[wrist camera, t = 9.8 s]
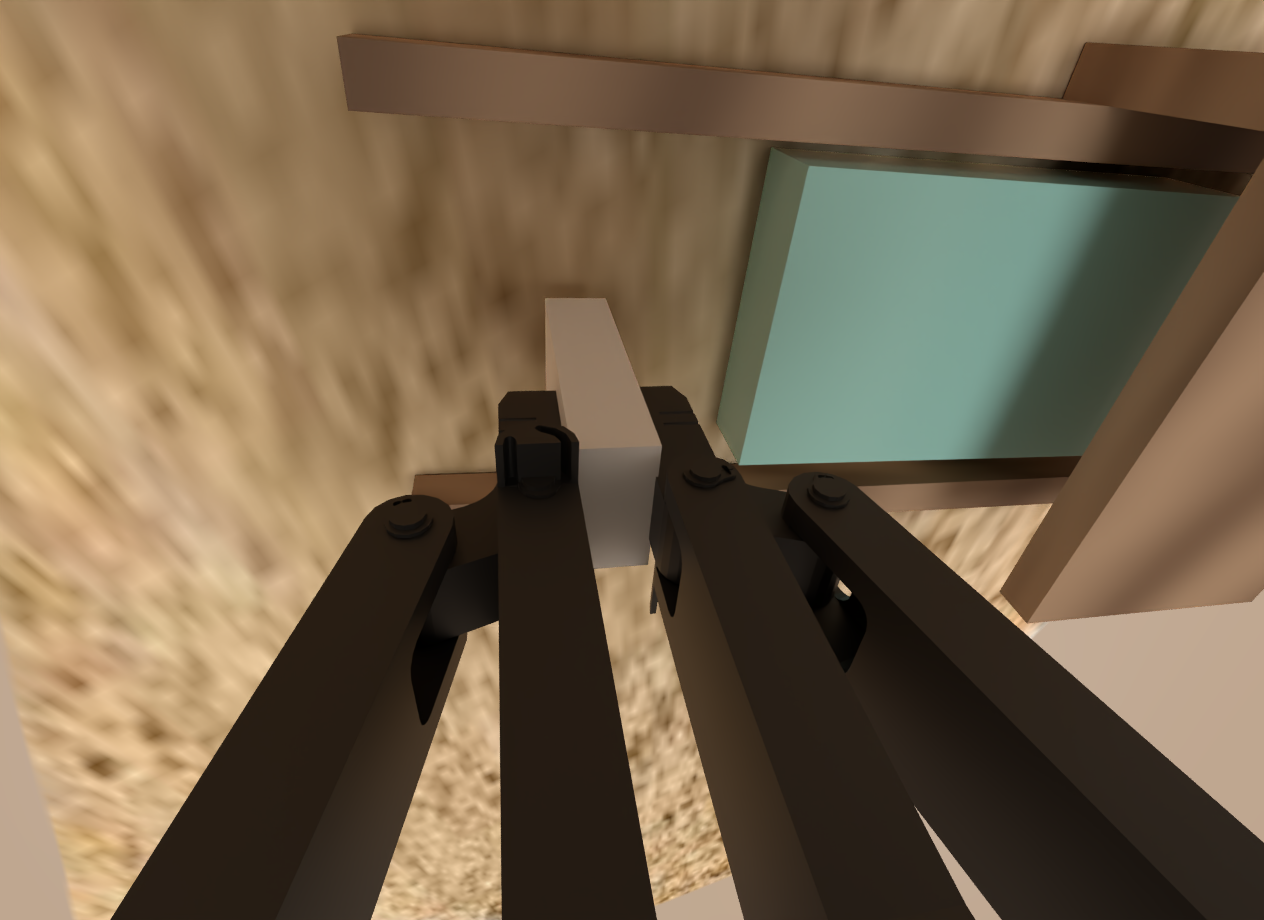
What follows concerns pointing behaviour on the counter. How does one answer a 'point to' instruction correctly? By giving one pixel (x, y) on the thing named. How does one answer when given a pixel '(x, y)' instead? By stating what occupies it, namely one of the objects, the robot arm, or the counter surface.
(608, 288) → the counter surface
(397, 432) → the counter surface
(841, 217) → the tile
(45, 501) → the counter surface
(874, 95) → the overhang
